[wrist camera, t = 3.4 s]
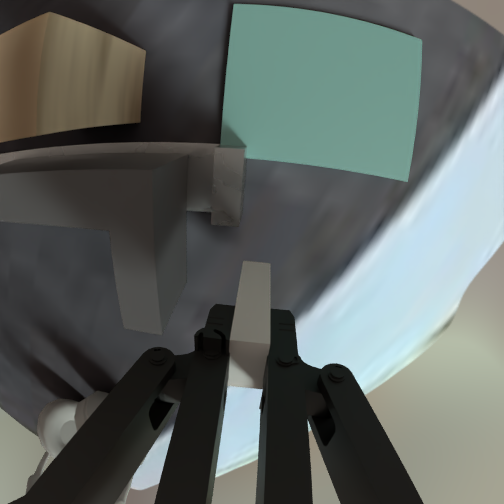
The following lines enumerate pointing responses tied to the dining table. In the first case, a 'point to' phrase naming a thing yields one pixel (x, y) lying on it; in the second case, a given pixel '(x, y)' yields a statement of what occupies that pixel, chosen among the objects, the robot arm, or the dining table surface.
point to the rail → (198, 175)
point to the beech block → (66, 78)
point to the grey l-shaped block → (114, 219)
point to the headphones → (66, 430)
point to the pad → (321, 90)
